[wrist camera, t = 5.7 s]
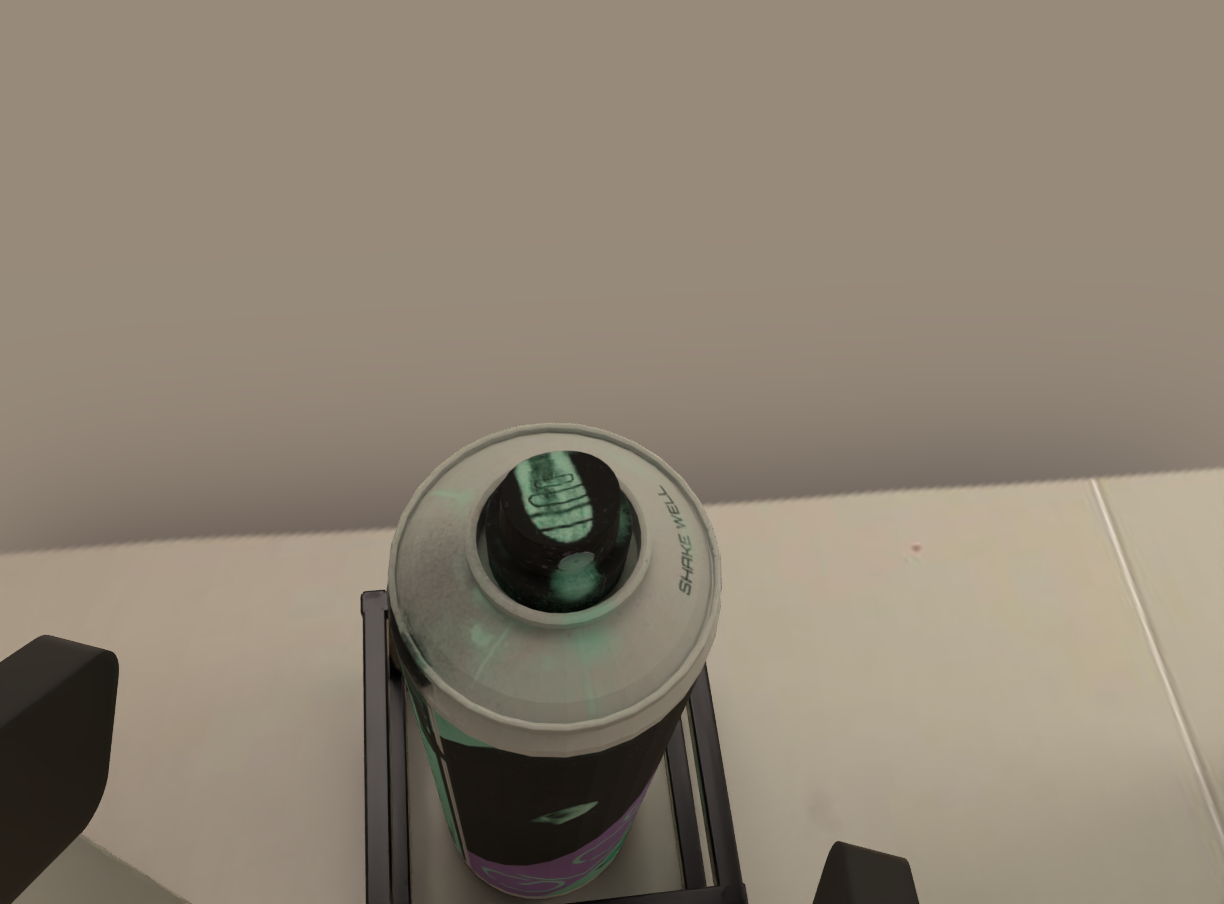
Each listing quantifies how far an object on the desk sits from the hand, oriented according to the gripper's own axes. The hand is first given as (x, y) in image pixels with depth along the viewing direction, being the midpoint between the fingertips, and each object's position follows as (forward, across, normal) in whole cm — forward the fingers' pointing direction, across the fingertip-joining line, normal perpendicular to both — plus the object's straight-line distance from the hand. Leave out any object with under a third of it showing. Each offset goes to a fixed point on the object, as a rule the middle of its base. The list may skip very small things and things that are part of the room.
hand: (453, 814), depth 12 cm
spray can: (+18, 0, +12) cm, 22 cm away
